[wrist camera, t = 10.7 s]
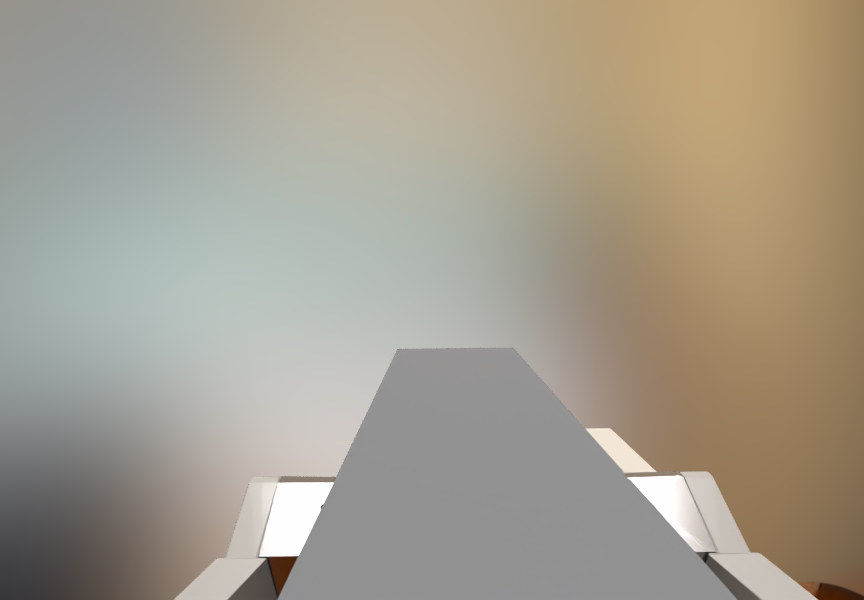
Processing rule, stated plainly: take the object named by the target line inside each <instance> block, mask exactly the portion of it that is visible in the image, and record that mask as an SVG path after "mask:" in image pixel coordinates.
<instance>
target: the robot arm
mask: <svg viewBox="0 0 864 600" xmlns="http://www.w3.org/2000/svg"><path fill="white" fill-rule="evenodd" d="M625 474H626V475H625V476H626V477H627V478H628V479H631V481H632V482H633V483H634V484H635V485H636V486H637V487H638V488H639V490H640V491H641V492H642V493H643V494H644V495H645V496H646V497H647V499H648V500H649V501H650V502H651V503H652V504H653V505H654V506H655V507H656V509H657V510H658V511H659V512H660V513H661V514H662V515H663V516H664V518H665V519H666V520H667V521H668V522H669V523H670V524H671V525H672V527H673V528H674V529H675V530H676V531H677V532H678V533H679V534H680V536H681V537H682V538H683V539H684V540H685V541H686V542H687V543H688V545H689V546H690V547H691V548H692V549H693V550H694V551H695V552H696V554H697V555H698V556H699V557H700V558H701V559H702V560H703V561H704V563H705V564H706V565H707V566H708V567H709V568H710V569H711V570H712V572H713V573H714V574H715V575H716V576H717V577H718V578H719V579H720V580H721V582H722V583H723V584H724V585H725V586H726V587H727V588H728V589H729V591H730V592H731V593H732V594H733V595H734V596H735V597H736V598H737V600H818V599H816V598H815V597H814V596H813V595H811V594H810V593H809V592H808V591H806V590H805V589H804V588H803V587H801V586H800V585H799V584H798V583H796V582H795V581H794V580H793V579H791V578H790V577H789V576H788V575H786V574H785V573H784V572H783V571H781V570H780V569H779V568H777V567H776V566H775V565H774V564H773V563H771V562H770V561H769V560H768V559H766V558H765V557H764V556H763V555H761V554H760V553H750V551H749V549H748V547H747V545H746V543H745V541H744V539H743V537H742V535H741V533H740V531H739V529H738V527H737V525H736V523H735V521H734V519H733V517H732V515H731V512H730V511H729V509H728V506H727V504H726V503H725V500H724V498H723V496H722V494H721V493H720V490H719V489H718V486H717V484H716V483H715V480H714V478H713V477H712V475H711V474H709V473H708V472H675V471H674V472H635V473H625ZM335 479H336V477H291V476H284V477H283V476H282V477H274V476H273V477H272V476H271V477H270V476H266V477H265V476H262V477H261V476H259V477H257V476H255V477H253V478H252V480H251V481H250V483H249V484H248V487H247V490H246V493H245V496H244V500H243V503H242V506H241V509H240V512H239V516H238V518H237V522H236V525H235V528H234V531H233V535H232V537H231V541H230V544H229V547H228V550H227V553H226V557H225V558H220V559H219V558H218V559H216V560H214V561H213V562H212V564H210V565H209V566H208V567H207V568H206V569H205V570H204V571H203V572H202V573H201V574H200V575H199V576H198V577H197V578H196V579H195V580H194V581H193V582H192V583H191V584H190V585H189V586H188V587H187V588H186V589H185V590H183V592H181V593H180V594H179V595H178V596H177V597H176V598H175V599H174V600H278V597H279V595H280V593H281V591H282V589H283V587H284V585H285V583H286V581H287V579H288V577H289V575H290V572H291V570H292V568H293V566H294V564H295V562H296V560H297V558H298V556H299V554H300V552H301V549H302V547H303V545H304V543H305V541H306V539H307V537H308V535H309V533H310V531H311V529H312V527H313V524H314V522H315V520H316V518H317V516H318V514H319V512H320V510H321V508H322V506H323V504H324V502H325V499H326V497H327V495H328V493H329V491H330V489H331V487H332V485H333V483H334V481H335Z"/></svg>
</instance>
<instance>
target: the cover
mask: <svg viewBox="0 0 864 600" xmlns="http://www.w3.org/2000/svg"><path fill="white" fill-rule="evenodd" d="M625 475H626V474H625V473H624V472H623V470H622V469H621V468H620V467H619V466H618V465H617V464H616V463H615V461H614V460H613V459H612V458H611V457H610V456H609V455H608V454H607V452H606V451H605V450H604V449H603V448H602V447H601V446H600V445H599V443H598V442H597V441H596V440H595V439H594V438H593V437H592V436H591V435H590V433H589V432H588V431H587V430H586V429H585V428H584V427H583V426H582V424H581V423H580V422H579V421H578V420H577V419H576V418H575V417H574V415H573V414H572V413H571V412H570V411H569V410H568V409H567V408H566V406H565V405H564V404H563V403H562V402H561V401H560V400H559V399H558V398H557V396H556V395H555V394H554V393H553V392H552V391H551V390H550V389H549V387H548V386H547V385H546V384H545V383H544V382H543V381H542V379H541V378H540V377H539V376H538V375H537V374H536V373H535V372H534V371H533V370H532V368H531V367H530V366H529V365H528V364H527V363H526V362H525V360H524V359H523V358H522V357H521V356H520V355H519V354H518V353H517V351H516V350H515V349H514V348H453V349H452V348H451V349H450V348H446V349H397V351H396V353H395V356H394V358H393V360H392V362H391V364H390V366H389V368H388V370H387V372H386V374H385V376H384V378H383V381H382V383H381V385H380V387H379V389H378V391H377V393H376V395H375V397H374V399H373V402H372V404H371V406H370V408H369V410H368V412H367V414H366V416H365V418H364V420H363V422H362V425H361V427H360V429H359V431H358V433H357V435H356V437H355V439H354V441H353V443H352V445H351V448H350V449H349V451H348V454H347V456H346V458H345V460H344V462H343V464H342V466H341V468H340V470H339V472H338V475H337V477H336V479H335V481H334V483H333V485H332V487H331V489H330V491H329V493H328V495H327V497H326V499H325V502H324V504H323V506H322V508H321V510H320V512H319V514H318V516H317V518H316V520H315V522H314V524H313V527H312V529H311V531H310V533H309V535H308V537H307V539H306V541H305V543H304V545H303V547H302V549H301V552H300V554H299V556H298V558H297V560H296V562H295V564H294V566H293V568H292V570H291V572H290V575H289V577H288V579H287V581H286V583H285V585H284V587H283V589H282V591H281V593H280V595H279V597H278V600H737V598H736V597H735V596H734V595H733V594H732V593H731V592H730V591H729V589H728V588H727V587H726V586H725V585H724V584H723V583H722V582H721V580H720V579H719V578H718V577H717V576H716V575H715V574H714V573H713V572H712V570H711V569H710V568H709V567H708V566H707V565H706V564H705V563H704V561H703V560H702V559H701V558H700V557H699V556H698V555H697V554H696V552H695V551H694V550H693V549H692V548H691V547H690V546H689V545H688V543H687V542H686V541H685V540H684V539H683V538H682V537H681V536H680V534H679V533H678V532H677V531H676V530H675V529H674V528H673V527H672V525H671V524H670V523H669V522H668V521H667V520H666V519H665V518H664V516H663V515H662V514H661V513H660V512H659V511H658V510H657V509H656V507H655V506H654V505H653V504H652V503H651V502H650V501H649V500H648V499H647V497H646V496H645V495H644V494H643V493H642V492H641V491H640V490H639V488H638V487H637V486H636V485H635V484H634V483H633V482H632V481H631V479H628V478H627V477H626V476H625Z"/></svg>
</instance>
